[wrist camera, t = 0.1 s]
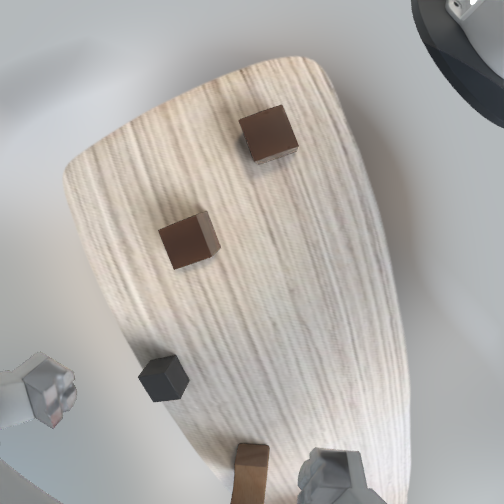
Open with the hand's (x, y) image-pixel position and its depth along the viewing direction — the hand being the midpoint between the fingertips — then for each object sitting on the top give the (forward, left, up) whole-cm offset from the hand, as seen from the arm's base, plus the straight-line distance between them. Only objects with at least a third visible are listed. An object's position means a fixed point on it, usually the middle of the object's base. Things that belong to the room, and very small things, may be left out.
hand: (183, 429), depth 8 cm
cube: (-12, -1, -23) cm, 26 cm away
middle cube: (0, -6, -23) cm, 24 cm away
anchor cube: (+17, -7, -23) cm, 30 cm away
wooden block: (+31, +8, -23) cm, 40 cm away
